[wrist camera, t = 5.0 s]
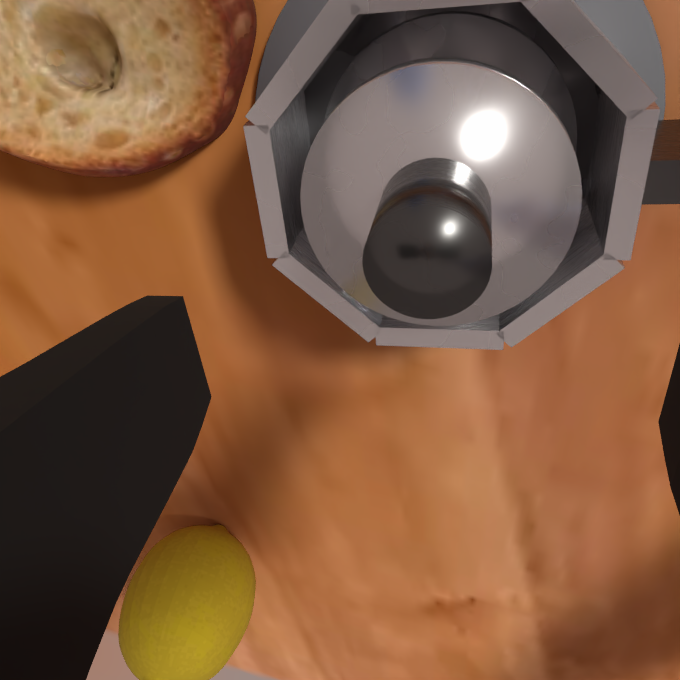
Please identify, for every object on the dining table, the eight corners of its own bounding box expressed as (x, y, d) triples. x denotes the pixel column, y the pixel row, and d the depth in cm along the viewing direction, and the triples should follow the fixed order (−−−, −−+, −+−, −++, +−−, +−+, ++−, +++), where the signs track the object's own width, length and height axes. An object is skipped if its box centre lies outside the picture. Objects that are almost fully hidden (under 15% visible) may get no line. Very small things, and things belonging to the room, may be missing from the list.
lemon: (278, 506, 29) (220, 680, 22) (270, 571, 32) (217, 739, 26) (165, 478, 29) (76, 641, 23) (169, 545, 33) (93, 704, 26)
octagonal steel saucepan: (671, 281, 18) (706, 357, 15) (312, 277, 21) (282, 342, 18) (758, -75, 13) (836, -64, 10) (269, -29, 16) (218, -9, 13)
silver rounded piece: (560, 257, 18) (589, 407, 13) (337, 256, 19) (282, 392, 14) (591, -1, 14) (652, 66, 9) (312, 21, 15) (223, 89, 10)
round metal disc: (622, 304, 19) (625, 311, 19) (288, 298, 22) (285, 304, 21) (709, -132, 13) (715, -133, 13) (224, -77, 15) (219, -76, 15)
